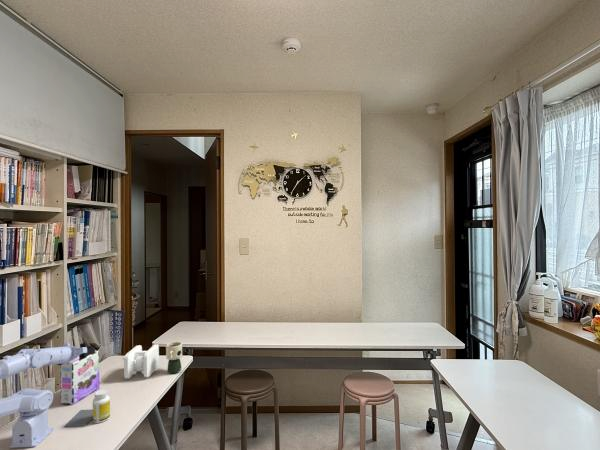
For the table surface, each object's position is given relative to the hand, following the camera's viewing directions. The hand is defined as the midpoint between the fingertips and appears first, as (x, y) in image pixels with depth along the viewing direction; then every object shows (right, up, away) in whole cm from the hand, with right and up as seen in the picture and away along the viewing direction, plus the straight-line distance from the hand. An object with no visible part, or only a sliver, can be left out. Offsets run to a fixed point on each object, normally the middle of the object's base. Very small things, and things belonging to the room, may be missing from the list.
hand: (85, 352), depth 135 cm
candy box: (-6, -20, +6) cm, 22 cm away
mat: (+5, -20, -10) cm, 23 cm away
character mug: (+24, -20, +28) cm, 42 cm away
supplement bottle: (+12, -20, -10) cm, 26 cm away
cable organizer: (+10, -20, +26) cm, 35 cm away
